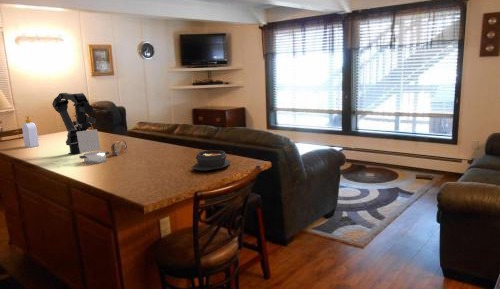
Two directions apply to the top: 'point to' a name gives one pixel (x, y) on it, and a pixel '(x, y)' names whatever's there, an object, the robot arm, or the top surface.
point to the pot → (94, 157)
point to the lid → (88, 141)
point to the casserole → (211, 160)
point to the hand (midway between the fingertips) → (83, 137)
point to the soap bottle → (30, 134)
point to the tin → (119, 147)
